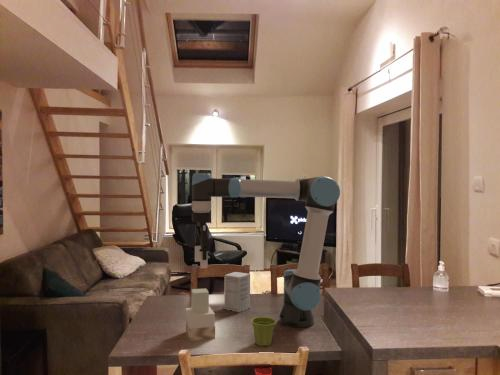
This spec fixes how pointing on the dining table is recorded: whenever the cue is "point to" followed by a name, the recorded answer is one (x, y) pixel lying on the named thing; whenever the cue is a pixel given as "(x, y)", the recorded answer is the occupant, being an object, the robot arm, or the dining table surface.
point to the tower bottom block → (200, 333)
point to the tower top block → (199, 319)
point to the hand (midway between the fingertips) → (200, 264)
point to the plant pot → (263, 330)
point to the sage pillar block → (199, 301)
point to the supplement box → (237, 291)
